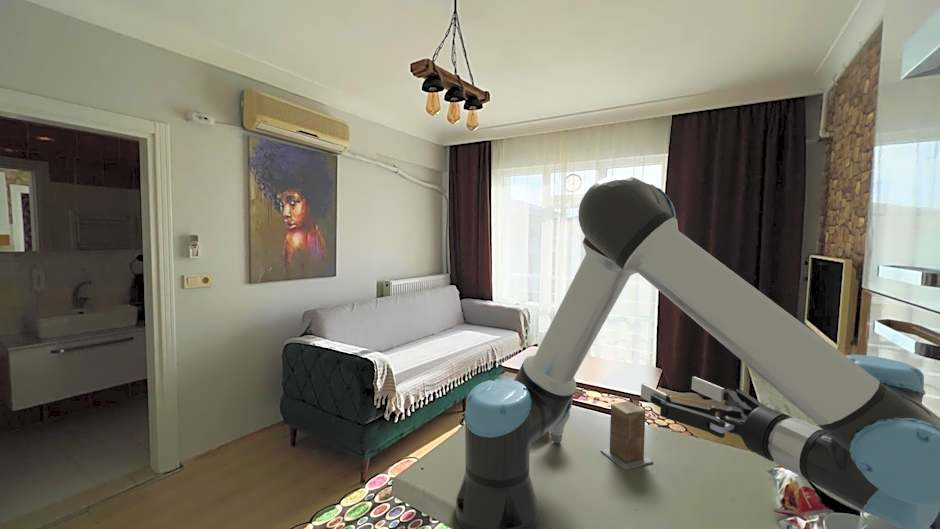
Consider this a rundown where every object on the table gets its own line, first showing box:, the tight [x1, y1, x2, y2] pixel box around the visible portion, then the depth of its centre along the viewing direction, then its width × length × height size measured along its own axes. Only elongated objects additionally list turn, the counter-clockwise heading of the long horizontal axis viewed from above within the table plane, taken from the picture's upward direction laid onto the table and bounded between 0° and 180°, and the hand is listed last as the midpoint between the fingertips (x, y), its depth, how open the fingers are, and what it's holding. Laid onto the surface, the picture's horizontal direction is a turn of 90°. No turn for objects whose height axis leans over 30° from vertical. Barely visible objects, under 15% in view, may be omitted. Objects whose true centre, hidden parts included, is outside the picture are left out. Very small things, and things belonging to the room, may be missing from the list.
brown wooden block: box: [609, 400, 646, 464], centre depth 89 cm, size 5×5×12 cm
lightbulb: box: [549, 411, 571, 444], centre depth 96 cm, size 6×6×11 cm
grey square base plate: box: [600, 447, 654, 471], centre depth 90 cm, size 8×8×7 cm
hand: (668, 386), depth 79 cm, fingers open, 13 cm apart
